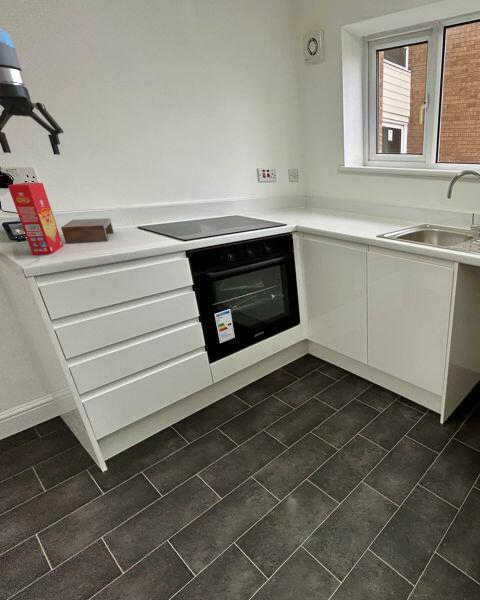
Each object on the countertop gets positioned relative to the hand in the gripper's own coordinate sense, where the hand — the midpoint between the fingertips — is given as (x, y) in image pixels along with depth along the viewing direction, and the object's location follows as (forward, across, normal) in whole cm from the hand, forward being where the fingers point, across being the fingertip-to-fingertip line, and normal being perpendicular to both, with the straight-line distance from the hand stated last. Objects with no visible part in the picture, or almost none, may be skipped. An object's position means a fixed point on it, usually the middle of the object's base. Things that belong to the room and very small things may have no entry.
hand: (32, 153), depth 124 cm
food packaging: (+36, +6, -4) cm, 37 cm away
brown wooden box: (+36, +1, -28) cm, 46 cm away
